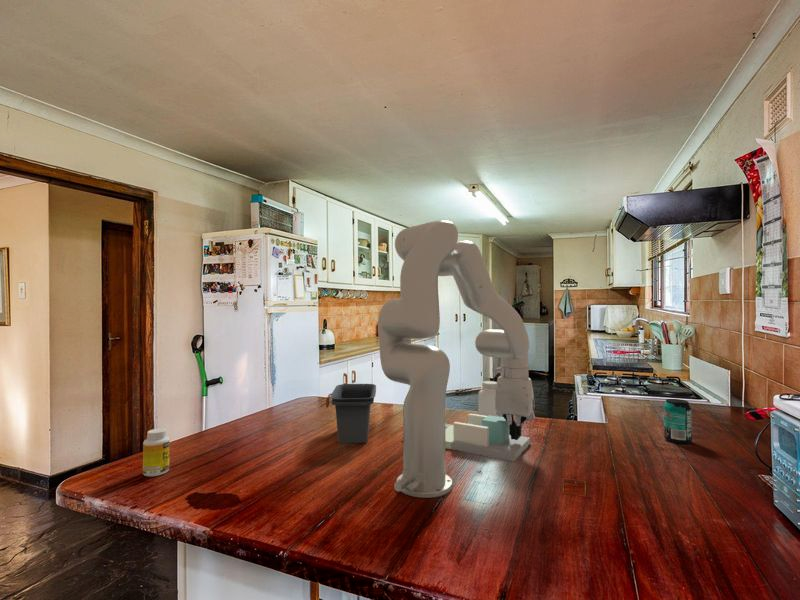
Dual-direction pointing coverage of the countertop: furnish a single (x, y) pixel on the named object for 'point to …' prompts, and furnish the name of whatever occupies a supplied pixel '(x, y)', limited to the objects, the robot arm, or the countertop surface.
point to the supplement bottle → (156, 453)
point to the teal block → (497, 429)
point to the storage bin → (352, 411)
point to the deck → (481, 440)
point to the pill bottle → (487, 399)
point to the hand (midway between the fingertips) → (515, 438)
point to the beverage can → (677, 421)
